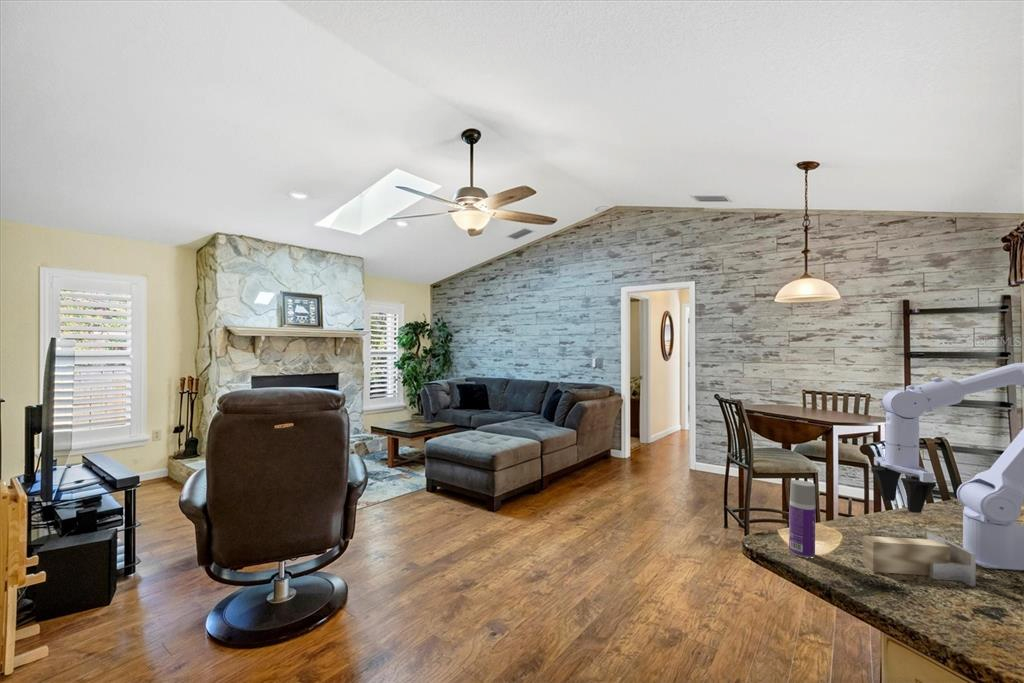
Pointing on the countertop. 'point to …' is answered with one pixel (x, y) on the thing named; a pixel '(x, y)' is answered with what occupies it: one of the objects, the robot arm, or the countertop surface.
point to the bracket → (954, 563)
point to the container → (802, 518)
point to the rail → (903, 554)
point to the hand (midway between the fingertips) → (901, 505)
